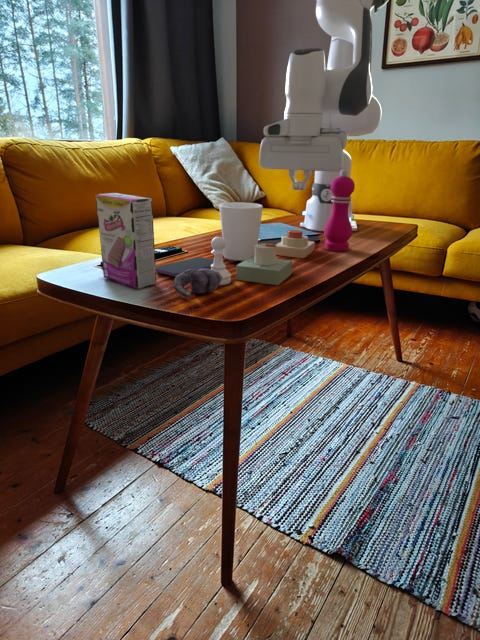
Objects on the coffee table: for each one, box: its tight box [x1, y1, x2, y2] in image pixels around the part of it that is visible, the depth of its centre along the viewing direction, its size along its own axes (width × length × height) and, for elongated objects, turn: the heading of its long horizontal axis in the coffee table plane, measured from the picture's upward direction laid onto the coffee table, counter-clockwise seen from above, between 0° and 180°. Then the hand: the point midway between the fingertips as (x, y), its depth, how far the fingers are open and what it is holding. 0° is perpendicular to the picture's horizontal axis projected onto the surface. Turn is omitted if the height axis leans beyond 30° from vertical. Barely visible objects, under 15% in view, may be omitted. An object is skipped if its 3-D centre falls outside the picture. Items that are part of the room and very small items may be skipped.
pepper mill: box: [323, 170, 356, 252], centre depth 115 cm, size 7×7×20 cm
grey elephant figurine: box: [173, 268, 222, 299], centre depth 82 cm, size 5×5×10 cm
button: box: [287, 229, 304, 238], centre depth 113 cm, size 4×4×2 cm
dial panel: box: [235, 256, 293, 286], centre depth 93 cm, size 9×9×3 cm
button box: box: [275, 233, 316, 259], centre depth 114 cm, size 10×8×4 cm
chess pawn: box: [210, 236, 232, 286], centre depth 88 cm, size 5×5×9 cm
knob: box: [254, 243, 277, 265], centre depth 91 cm, size 4×4×4 cm
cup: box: [218, 201, 264, 264], centre depth 103 cm, size 10×10×13 cm
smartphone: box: [156, 256, 214, 277], centre depth 98 cm, size 7×1×15 cm
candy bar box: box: [95, 192, 157, 290], centre depth 85 cm, size 11×5×16 cm, turn 50°
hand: (299, 189), depth 109 cm, fingers closed
